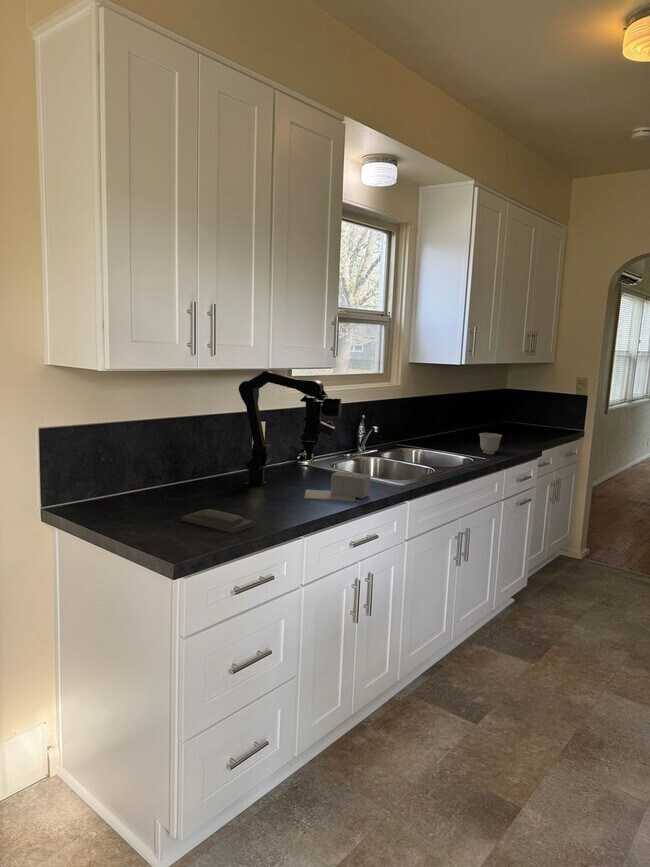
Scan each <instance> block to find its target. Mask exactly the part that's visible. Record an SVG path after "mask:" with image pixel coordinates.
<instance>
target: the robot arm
mask: <svg viewBox="0 0 650 867" xmlns="http://www.w3.org/2000/svg"><path fill="white" fill-rule="evenodd" d="M268 383H271V384H274V385H278V386H281V387H286V388H290V389H293V390H297V391H298V392H299V393H302V394H304V395H303V397H302V398H301V399H300V400H299V401H300V402H302V403H305V407H304V408H305V410H304V418H303V421H304V424H303V427H304V428H303V432H302V433H301V434H300V435H301V436H300V441H301V443H302V446H303V448H304V452H305V455H306V458H307V460H309V459H310V460H311V458H312V456H313V452H314V449H315V447H316V446H315V445H317V444H318V443H319V442H320V438H321V434H322V433H323V434H326V435H327V436H328V437H332V436H333V434H334V432H335V430H336V427H335V426H333V422H332V421H329V420H328V421H327V422H323V421H322V418H321V417H322V416H321V413H322V414H323V416H325V417H333V418H334V417H335V418H341V416H342V412H343V406H342V399H341V398H340V397H339V398H338V397H337V398H333V397H329V396H328V394H327V393H326V391H325V387H324V384H323V383H322V381H321V380H317V379H301V378H296V377H292V376H289V375H284V374H281V373H277V372H273V371H271V370H265V371H262V372H260V374H258V375H256V376H254V377H252V378H251V379H249V380H244V381H242V382H241V383H240V384H239V385H238V392H239V393H238V394H239V395H240V399H241V400H242V401H243V403H244V405H245V408H246V414H247V418H248V423H249V428H250V434H251V439H252V447H251V459H250V460H249V461H247V462H246V463H245V467H246V470H248V481H246V482H245V483H244V485H247V486H253V487H262V486H264V485H266V484H268V482H267V481H264V480H265V468H266V467H267V464H269V463H270V462H271V460H272V458H273V457H272V455H273V454H274V453H273V450H272V444H271V443H269V444H268V443H267V441H266V440H265V435H264V434H265V433H264V429H263V424H262V419H261V413H260V409H259V400H260V398H259V397H260V389H261V388H262V387H264V386H266V385H267V384H268Z"/></svg>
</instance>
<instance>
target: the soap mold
mask: <svg viewBox="0 0 650 867" xmlns="http://www.w3.org/2000/svg"><path fill="white" fill-rule="evenodd" d="M181 521H182V522H188V523H190V524H195V525H199V526H203V527H207V528H211V529H214V530H220V531H224V532H228V533H232V534H237V533H240V532H242V531H245V530H247V528H248V529H250V528H253V527H256V522H255V521H254V520H253V519H252V520H251V519H248V518H244V517H242V516H240V515H238V514H233V513H229V512H225V511H222V510H221V511H220V510H216V509H211V508H207V509H202V510H199V511H195V512H192V513H189V514H186V515H182V518H181Z"/></svg>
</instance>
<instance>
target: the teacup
mask: <svg viewBox="0 0 650 867" xmlns="http://www.w3.org/2000/svg"><path fill="white" fill-rule="evenodd" d="M478 435H479V443H480V444H479V446H480V448H481V450H482V451H483V452H482V453H483V454H484V453H486V454H485V455H495V452H497V451H498V450H499V447H500V443H501V439H502V437H503V434H499V433H492V432H491V433H490V432H480V433H478Z"/></svg>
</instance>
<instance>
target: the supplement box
mask: <svg viewBox="0 0 650 867" xmlns="http://www.w3.org/2000/svg"><path fill="white" fill-rule="evenodd" d="M370 483H371V475H370V474H364V473H358V472H357V473H356V472H349V471H341V470H338V471H336V472H334V473H332V474H331V478H330V491H331V494H337V495H343V496H350V497H355V498H358V499H365V498H366V497H367V496H368V495H370V487H371V485H370Z"/></svg>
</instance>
